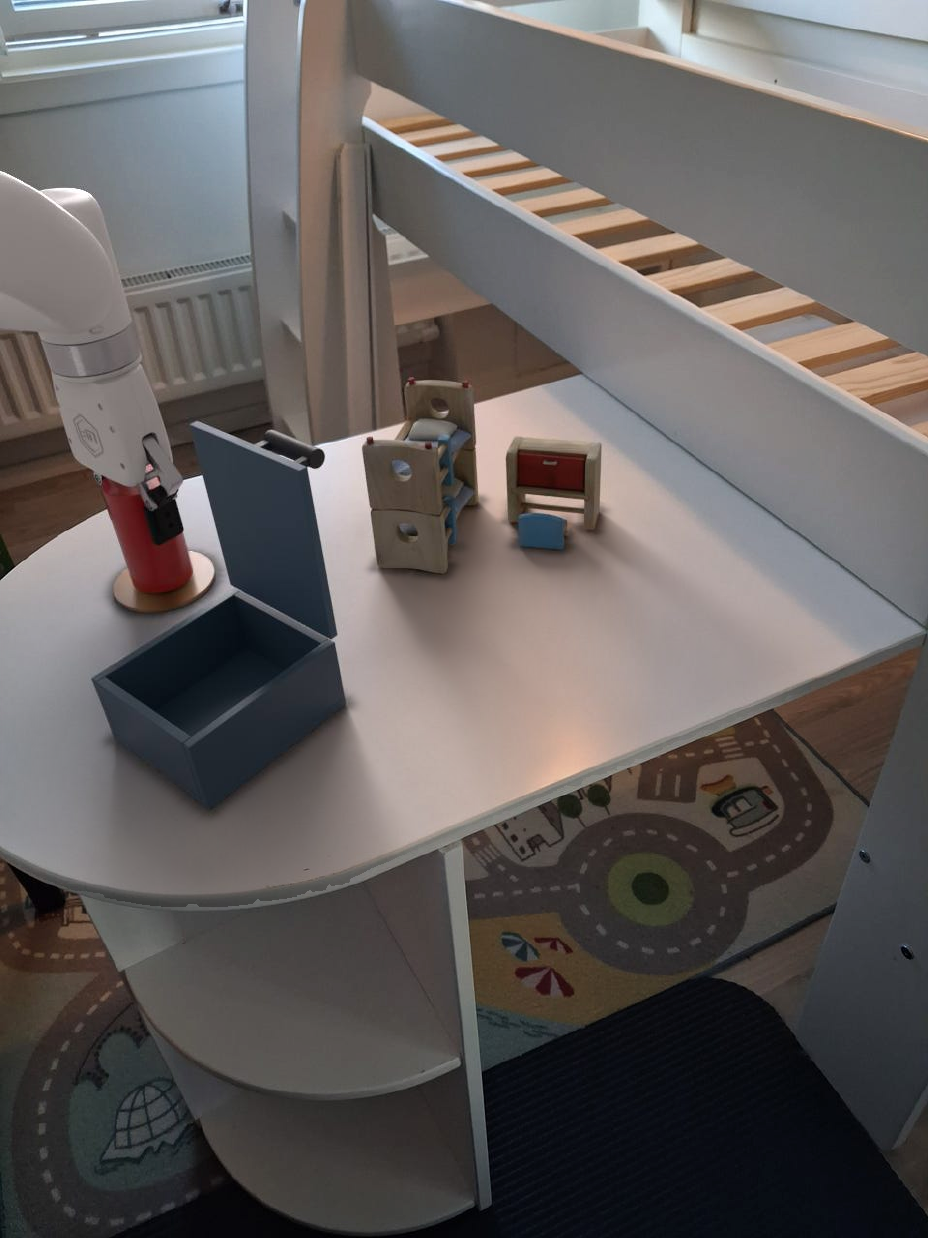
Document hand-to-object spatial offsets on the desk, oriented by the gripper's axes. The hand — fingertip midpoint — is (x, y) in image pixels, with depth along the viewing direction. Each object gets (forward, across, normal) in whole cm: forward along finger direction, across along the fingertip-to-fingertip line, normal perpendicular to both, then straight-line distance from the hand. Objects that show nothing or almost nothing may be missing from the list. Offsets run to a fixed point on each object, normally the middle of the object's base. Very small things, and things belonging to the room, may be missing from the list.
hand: (147, 525), depth 95 cm
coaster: (+7, 0, 0) cm, 7 cm away
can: (+6, 0, 0) cm, 6 cm away
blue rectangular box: (+7, +21, -9) cm, 24 cm away
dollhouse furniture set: (+7, +22, +25) cm, 34 cm away
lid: (-8, +21, -2) cm, 23 cm away
